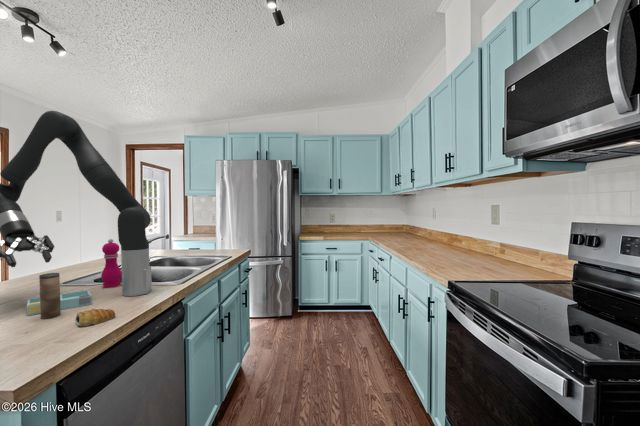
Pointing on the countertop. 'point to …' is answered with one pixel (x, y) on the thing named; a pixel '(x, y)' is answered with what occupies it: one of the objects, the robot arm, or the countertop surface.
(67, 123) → the robot arm
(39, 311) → the socket block
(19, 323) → the countertop surface
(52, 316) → the walnut peg
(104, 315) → the pastry
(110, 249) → the pepper mill
